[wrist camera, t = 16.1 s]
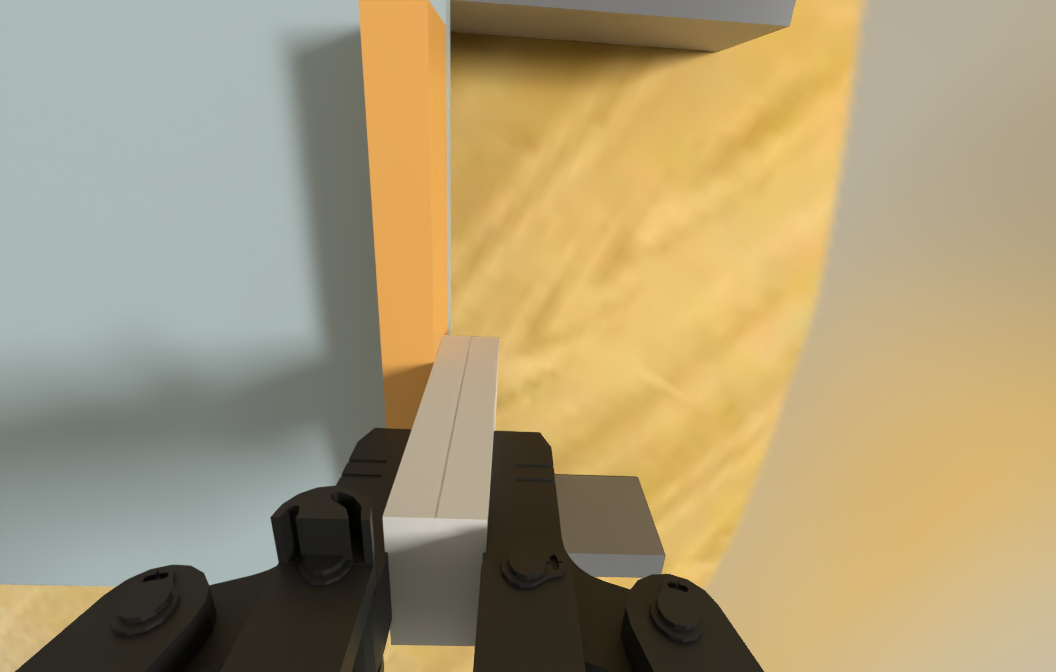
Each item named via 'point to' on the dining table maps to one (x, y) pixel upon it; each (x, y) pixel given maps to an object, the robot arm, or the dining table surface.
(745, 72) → the dining table surface
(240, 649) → the robot arm
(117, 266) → the lid
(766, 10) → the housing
